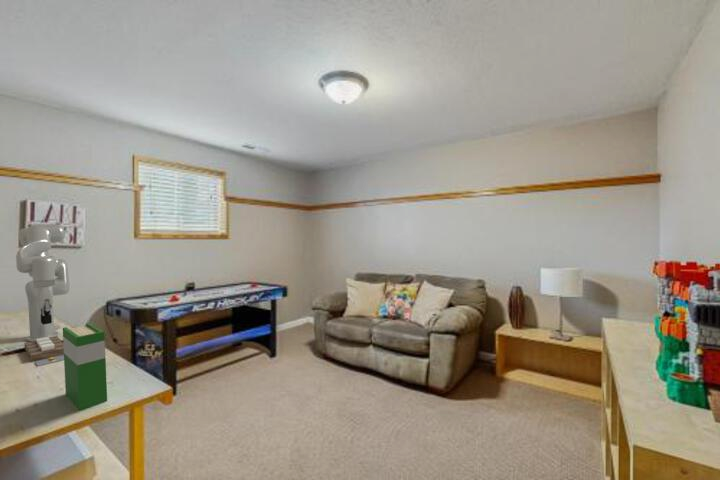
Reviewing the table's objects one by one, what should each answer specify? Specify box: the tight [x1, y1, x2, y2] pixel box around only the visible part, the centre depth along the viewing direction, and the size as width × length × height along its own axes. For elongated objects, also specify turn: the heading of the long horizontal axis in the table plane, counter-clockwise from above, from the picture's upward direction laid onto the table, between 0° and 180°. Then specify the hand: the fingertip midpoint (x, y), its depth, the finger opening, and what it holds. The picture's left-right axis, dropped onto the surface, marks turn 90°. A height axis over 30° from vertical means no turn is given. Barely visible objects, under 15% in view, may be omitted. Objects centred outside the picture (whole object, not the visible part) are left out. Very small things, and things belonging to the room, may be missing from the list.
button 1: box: [36, 337, 50, 344], centre depth 164 cm, size 4×4×2 cm
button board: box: [23, 335, 64, 363], centre depth 159 cm, size 26×12×3 cm, turn 50°
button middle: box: [38, 340, 52, 348], centre depth 159 cm, size 4×4×2 cm
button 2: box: [40, 343, 55, 351], centre depth 155 cm, size 4×4×2 cm
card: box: [34, 355, 64, 367], centre depth 148 cm, size 7×10×1 cm
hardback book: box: [62, 322, 108, 412], centre depth 115 cm, size 18×7×24 cm, turn 53°
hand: (46, 322), depth 154 cm, fingers open, 3 cm apart
